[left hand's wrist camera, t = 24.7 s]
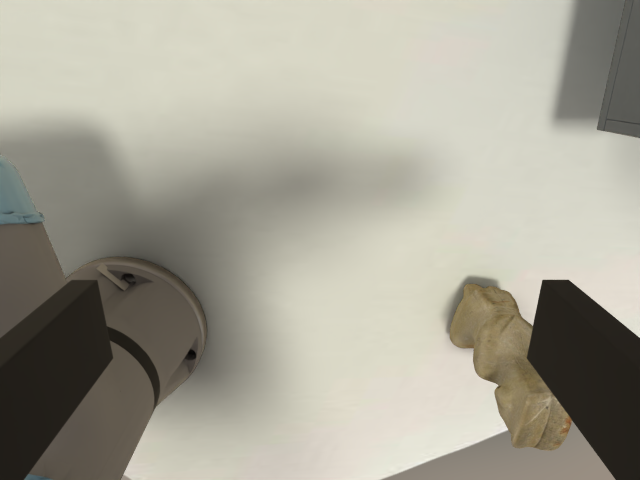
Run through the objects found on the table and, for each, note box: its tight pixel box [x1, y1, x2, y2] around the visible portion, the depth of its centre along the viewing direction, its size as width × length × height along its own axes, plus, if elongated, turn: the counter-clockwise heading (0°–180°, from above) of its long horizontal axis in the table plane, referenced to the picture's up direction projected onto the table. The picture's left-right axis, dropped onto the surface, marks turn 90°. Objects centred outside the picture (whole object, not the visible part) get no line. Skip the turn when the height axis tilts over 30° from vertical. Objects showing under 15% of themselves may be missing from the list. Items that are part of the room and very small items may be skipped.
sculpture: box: [450, 284, 572, 451], centre depth 36 cm, size 6×7×15 cm
